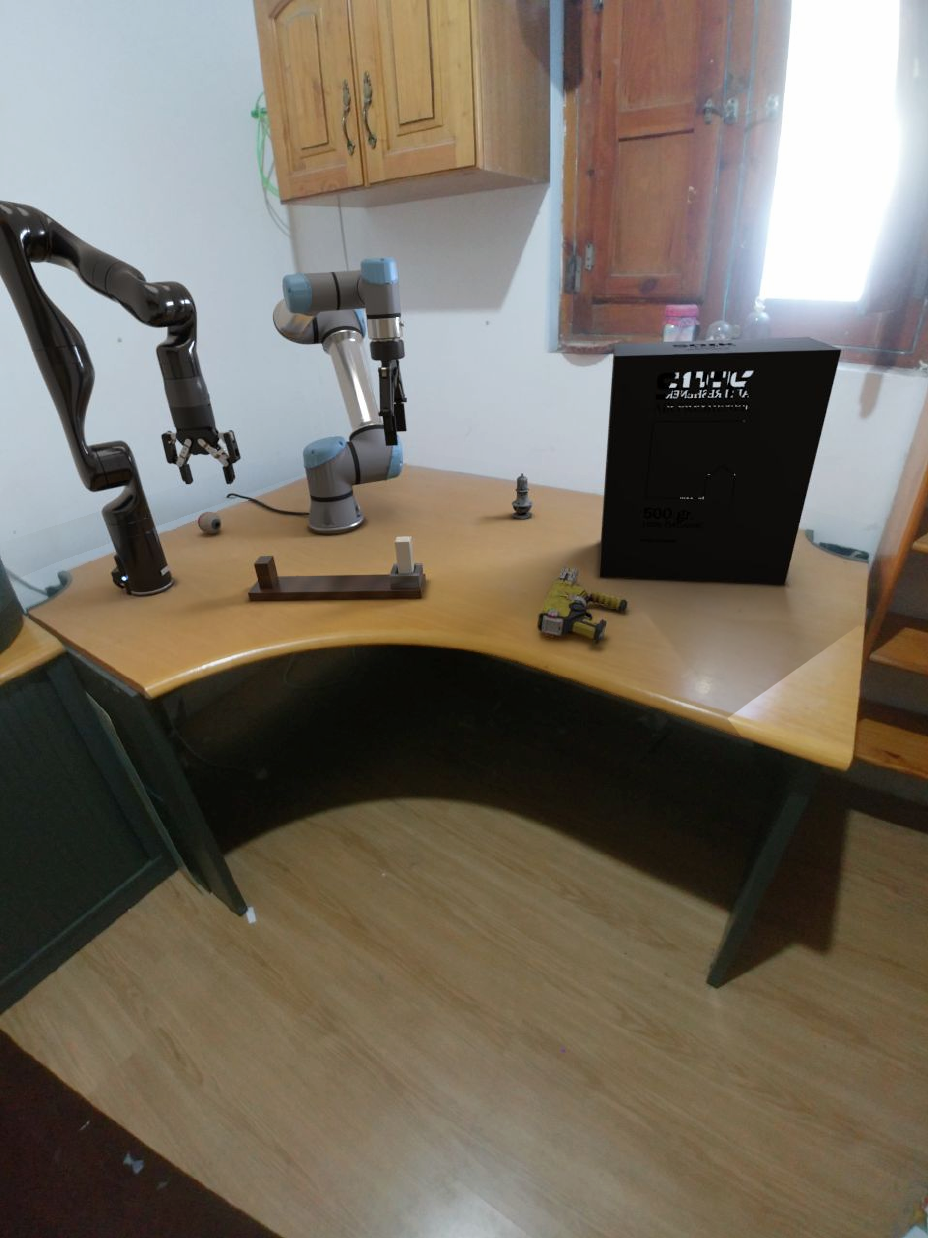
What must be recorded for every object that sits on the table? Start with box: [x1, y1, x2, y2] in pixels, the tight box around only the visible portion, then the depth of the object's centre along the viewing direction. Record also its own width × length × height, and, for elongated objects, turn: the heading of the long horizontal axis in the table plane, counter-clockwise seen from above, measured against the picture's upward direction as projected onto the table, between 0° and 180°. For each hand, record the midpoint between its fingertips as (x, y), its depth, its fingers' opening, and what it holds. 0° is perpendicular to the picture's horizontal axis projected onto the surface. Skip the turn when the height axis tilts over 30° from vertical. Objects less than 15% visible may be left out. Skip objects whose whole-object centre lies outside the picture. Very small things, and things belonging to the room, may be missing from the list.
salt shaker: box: [511, 472, 534, 520], centre depth 165 cm, size 6×6×12 cm
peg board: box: [247, 555, 427, 602], centre depth 132 cm, size 38×8×8 cm, turn 86°
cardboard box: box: [599, 336, 842, 586], centre depth 126 cm, size 38×20×45 cm, turn 78°
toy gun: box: [536, 566, 629, 645], centre depth 118 cm, size 5×24×15 cm
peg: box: [394, 535, 415, 574], centre depth 129 cm, size 3×3×10 cm
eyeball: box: [197, 511, 222, 534], centre depth 167 cm, size 6×6×6 cm
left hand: (210, 483), depth 124 cm, fingers open, 8 cm apart
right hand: (396, 438), depth 142 cm, fingers open, 13 cm apart
